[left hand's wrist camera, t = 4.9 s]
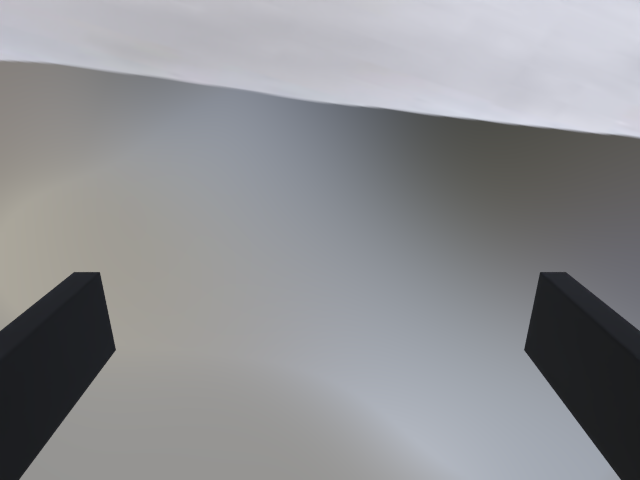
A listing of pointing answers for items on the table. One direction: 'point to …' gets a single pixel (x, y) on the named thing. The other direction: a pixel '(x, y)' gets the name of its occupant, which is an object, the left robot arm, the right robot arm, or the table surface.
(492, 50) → the table surface
